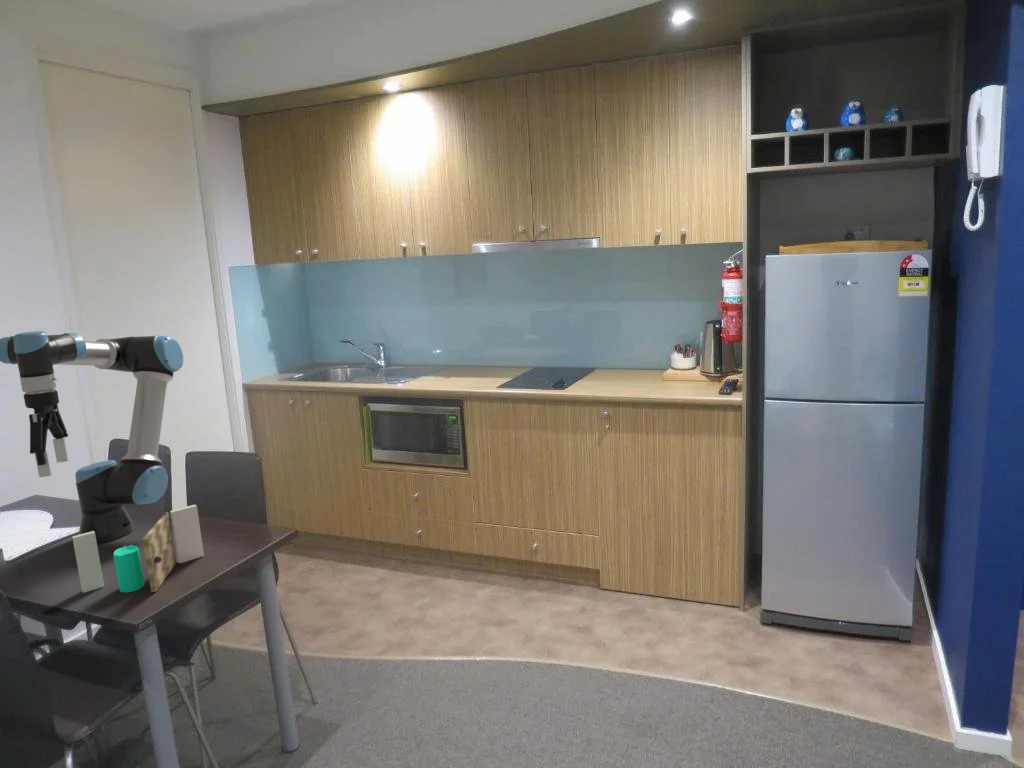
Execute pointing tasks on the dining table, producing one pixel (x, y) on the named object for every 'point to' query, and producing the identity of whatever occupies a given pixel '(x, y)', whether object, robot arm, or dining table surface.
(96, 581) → the door frame
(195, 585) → the dining table surface
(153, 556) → the door
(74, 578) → the dining table surface
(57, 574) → the dining table surface
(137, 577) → the candle
